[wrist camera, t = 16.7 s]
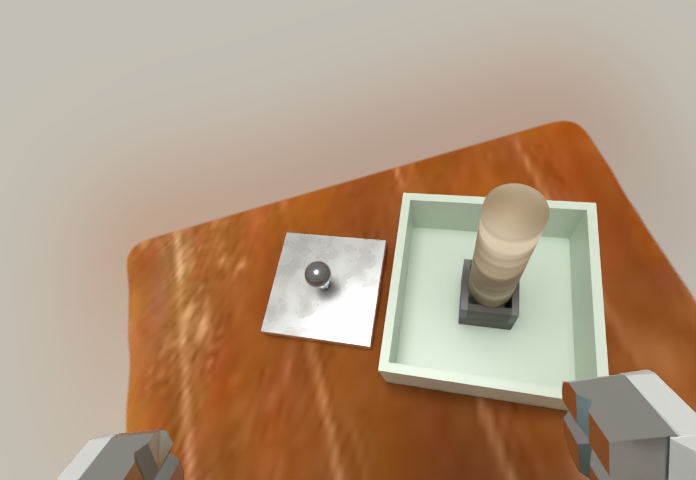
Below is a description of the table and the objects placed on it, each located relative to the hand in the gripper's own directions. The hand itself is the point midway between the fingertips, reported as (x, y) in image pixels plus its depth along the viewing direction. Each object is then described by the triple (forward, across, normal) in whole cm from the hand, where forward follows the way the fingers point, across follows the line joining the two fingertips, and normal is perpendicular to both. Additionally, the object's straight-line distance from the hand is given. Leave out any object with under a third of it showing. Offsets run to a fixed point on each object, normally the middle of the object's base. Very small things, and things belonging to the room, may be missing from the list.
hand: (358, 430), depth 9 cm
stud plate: (+37, +8, +13) cm, 40 cm away
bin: (+34, -9, +16) cm, 39 cm away
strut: (+33, -9, +16) cm, 38 cm away
